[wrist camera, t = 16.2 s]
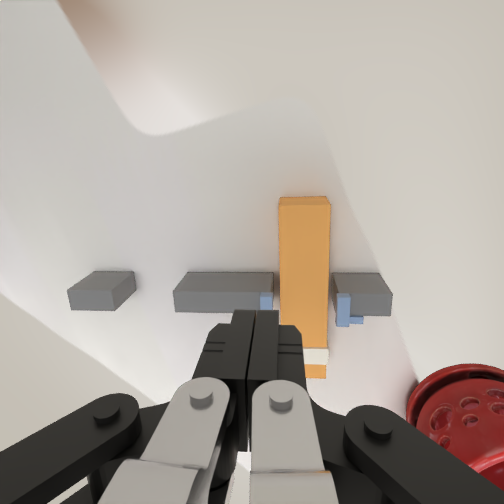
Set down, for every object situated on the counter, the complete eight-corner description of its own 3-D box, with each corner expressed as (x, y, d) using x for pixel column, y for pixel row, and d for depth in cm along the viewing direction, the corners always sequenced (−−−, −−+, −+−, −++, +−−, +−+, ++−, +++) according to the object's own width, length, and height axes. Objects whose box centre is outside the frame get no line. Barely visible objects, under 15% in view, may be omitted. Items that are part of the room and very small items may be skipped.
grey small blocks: (98, 294, 36) (67, 320, 31) (94, 271, 35) (61, 293, 30) (377, 298, 33) (392, 327, 28) (379, 273, 32) (395, 298, 27)
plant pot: (561, 392, 34) (698, 521, 22) (461, 469, 38) (533, 610, 26) (457, 321, 32) (546, 419, 21) (366, 408, 37) (399, 529, 25)
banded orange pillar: (281, 351, 36) (280, 379, 32) (278, 197, 31) (276, 206, 27) (323, 352, 35) (327, 380, 31) (327, 196, 30) (333, 205, 26)
